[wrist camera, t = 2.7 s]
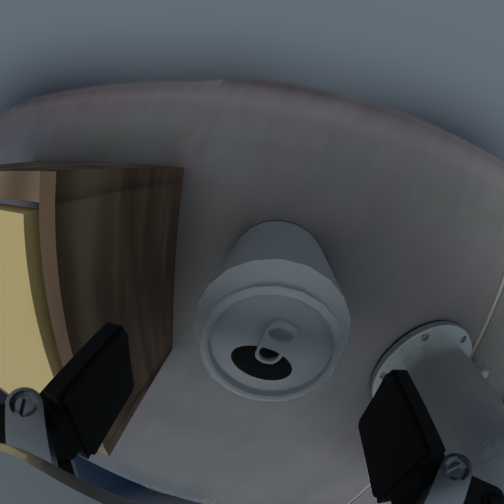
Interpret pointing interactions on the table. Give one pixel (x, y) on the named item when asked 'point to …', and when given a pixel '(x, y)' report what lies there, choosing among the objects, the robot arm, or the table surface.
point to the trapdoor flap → (24, 305)
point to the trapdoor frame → (106, 257)
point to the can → (273, 316)
